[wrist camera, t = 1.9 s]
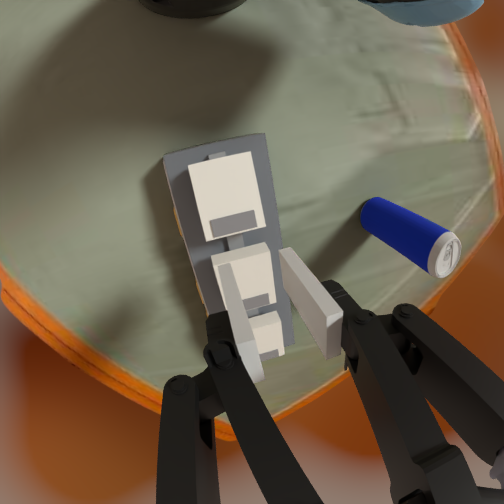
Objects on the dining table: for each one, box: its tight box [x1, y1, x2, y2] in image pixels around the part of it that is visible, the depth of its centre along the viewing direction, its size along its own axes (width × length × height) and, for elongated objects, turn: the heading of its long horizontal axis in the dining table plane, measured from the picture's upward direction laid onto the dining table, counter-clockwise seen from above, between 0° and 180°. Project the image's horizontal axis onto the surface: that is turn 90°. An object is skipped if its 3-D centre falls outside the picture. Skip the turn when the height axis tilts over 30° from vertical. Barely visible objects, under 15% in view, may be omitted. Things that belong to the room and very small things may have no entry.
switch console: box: [163, 133, 295, 347], centre depth 32 cm, size 28×10×5 cm, turn 10°
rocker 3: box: [248, 311, 284, 361], centre depth 33 cm, size 7×6×2 cm
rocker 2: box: [211, 242, 276, 311], centre depth 29 cm, size 7×6×2 cm
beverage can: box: [360, 197, 461, 278], centre depth 29 cm, size 5×5×15 cm
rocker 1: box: [188, 151, 266, 242], centre depth 25 cm, size 7×6×2 cm
